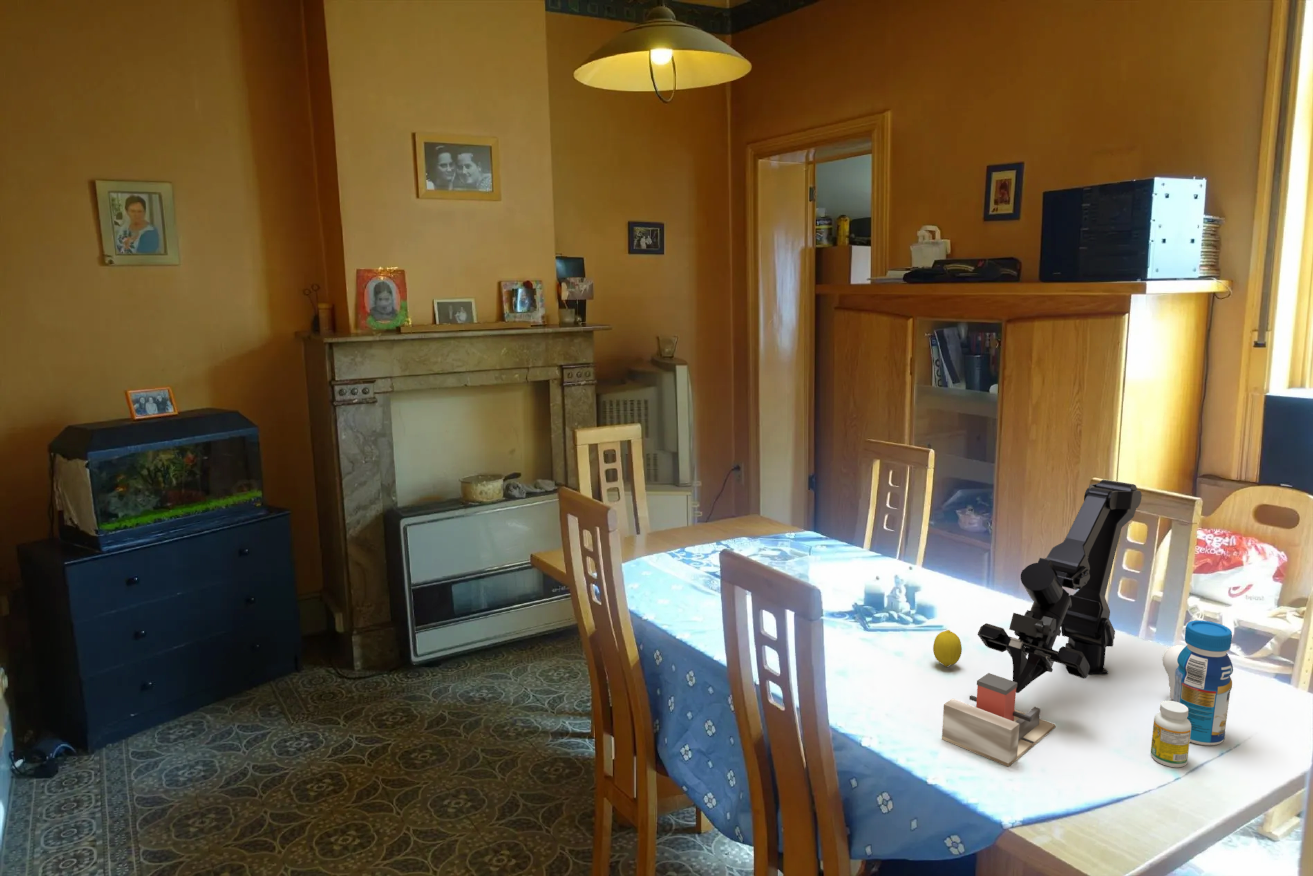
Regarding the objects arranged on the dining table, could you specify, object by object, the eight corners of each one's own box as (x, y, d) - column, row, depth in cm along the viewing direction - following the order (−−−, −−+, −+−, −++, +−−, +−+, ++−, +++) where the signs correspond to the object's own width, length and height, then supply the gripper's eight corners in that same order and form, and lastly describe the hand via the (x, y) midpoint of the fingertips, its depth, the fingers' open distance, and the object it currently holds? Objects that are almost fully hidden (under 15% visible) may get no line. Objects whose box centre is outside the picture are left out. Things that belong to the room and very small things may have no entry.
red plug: (970, 717, 159) (973, 667, 157) (1030, 740, 151) (1034, 688, 149) (958, 725, 156) (961, 675, 154) (1018, 750, 148) (1022, 696, 146)
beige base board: (991, 703, 165) (993, 671, 164) (1055, 727, 157) (1058, 693, 155) (941, 739, 153) (943, 704, 152) (1008, 767, 145) (1011, 730, 143)
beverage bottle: (1159, 722, 158) (1170, 617, 154) (1207, 722, 158) (1219, 617, 154) (1185, 747, 150) (1198, 637, 146) (1236, 747, 149) (1250, 637, 146)
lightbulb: (1182, 712, 161) (1189, 656, 159) (1151, 698, 167) (1156, 644, 165) (1203, 704, 164) (1209, 649, 162) (1171, 690, 169) (1177, 637, 167)
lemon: (962, 673, 177) (964, 636, 176) (933, 671, 179) (935, 634, 177) (958, 662, 183) (960, 625, 181) (930, 659, 184) (932, 624, 182)
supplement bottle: (1183, 772, 143) (1189, 718, 141) (1146, 760, 146) (1152, 707, 144) (1190, 758, 147) (1196, 705, 145) (1153, 747, 150) (1159, 695, 148)
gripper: (985, 582, 164) (952, 656, 159) (1088, 609, 151) (1056, 691, 146) (1002, 609, 171) (971, 681, 166) (1102, 638, 157) (1072, 717, 152)
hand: (1015, 691), depth 157 cm, fingers closed
